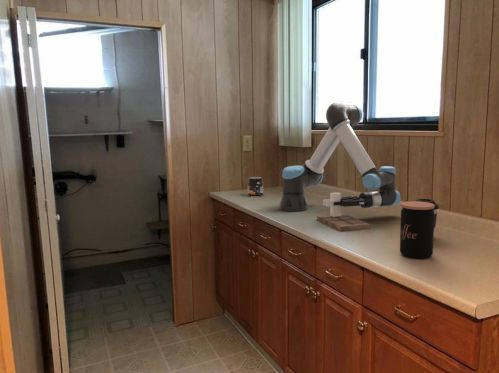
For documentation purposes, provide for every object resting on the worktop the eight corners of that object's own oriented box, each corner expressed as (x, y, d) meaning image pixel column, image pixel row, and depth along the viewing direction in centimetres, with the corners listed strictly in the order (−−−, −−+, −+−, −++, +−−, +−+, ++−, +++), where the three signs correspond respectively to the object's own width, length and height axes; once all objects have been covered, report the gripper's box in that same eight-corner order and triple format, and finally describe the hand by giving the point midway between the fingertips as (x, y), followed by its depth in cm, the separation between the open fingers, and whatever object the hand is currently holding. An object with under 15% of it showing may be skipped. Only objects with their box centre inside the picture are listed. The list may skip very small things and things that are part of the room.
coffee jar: (394, 251, 148) (395, 201, 145) (423, 249, 149) (424, 200, 146) (408, 260, 138) (409, 207, 135) (438, 259, 138) (441, 206, 136)
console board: (317, 219, 200) (317, 215, 200) (343, 217, 204) (343, 213, 203) (340, 231, 177) (340, 226, 177) (369, 228, 181) (369, 223, 180)
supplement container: (244, 195, 275) (244, 178, 273) (256, 193, 282) (255, 176, 280) (255, 197, 267) (255, 179, 266) (266, 195, 274) (266, 177, 273)
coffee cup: (440, 240, 160) (441, 202, 158) (413, 239, 162) (414, 202, 160) (434, 233, 170) (435, 197, 168) (408, 233, 172) (409, 197, 170)
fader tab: (330, 215, 197) (330, 193, 196) (337, 215, 198) (338, 192, 197) (333, 217, 194) (333, 194, 193) (340, 216, 195) (341, 193, 194)
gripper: (378, 210, 193) (332, 214, 187) (360, 204, 208) (317, 207, 202) (378, 194, 192) (332, 198, 186) (360, 189, 207) (317, 192, 201)
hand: (325, 203), depth 194 cm, fingers closed on fader tab, 3 cm apart
